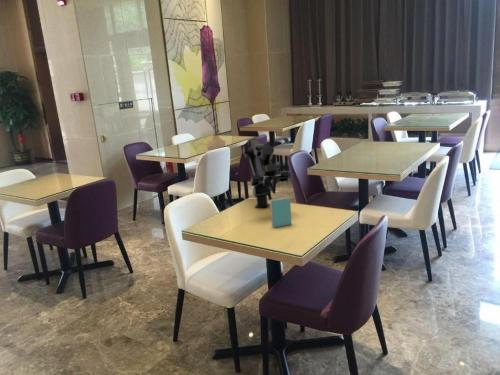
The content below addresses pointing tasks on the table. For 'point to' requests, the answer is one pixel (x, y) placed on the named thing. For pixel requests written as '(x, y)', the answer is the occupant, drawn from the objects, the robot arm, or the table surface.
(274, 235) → the table surface
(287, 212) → the tile
